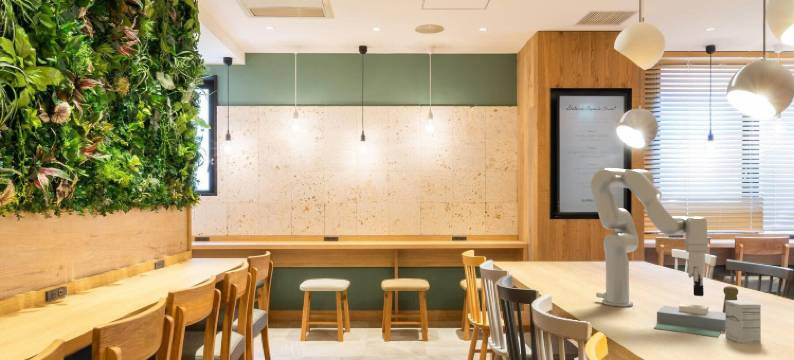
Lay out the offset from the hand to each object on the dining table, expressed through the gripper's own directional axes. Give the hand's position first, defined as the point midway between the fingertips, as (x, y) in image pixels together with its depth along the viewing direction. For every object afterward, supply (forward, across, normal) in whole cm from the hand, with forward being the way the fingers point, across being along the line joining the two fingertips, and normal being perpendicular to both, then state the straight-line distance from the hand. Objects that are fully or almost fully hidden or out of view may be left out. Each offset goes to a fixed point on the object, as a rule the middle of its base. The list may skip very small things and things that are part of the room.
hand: (698, 295), depth 212 cm
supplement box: (+10, +28, +16) cm, 33 cm away
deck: (+9, +11, -1) cm, 14 cm away
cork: (+9, -17, +9) cm, 22 cm away
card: (+5, +8, -1) cm, 10 cm away
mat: (+9, +24, -1) cm, 25 cm away
